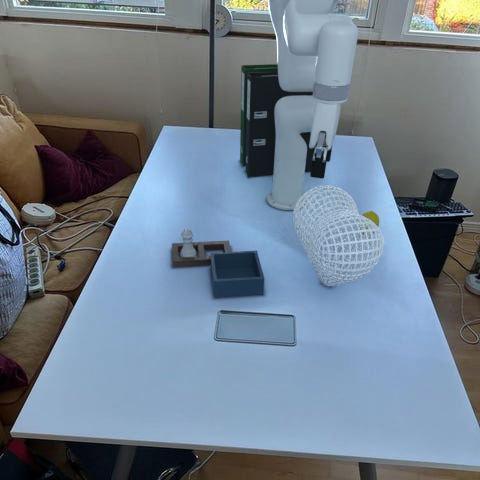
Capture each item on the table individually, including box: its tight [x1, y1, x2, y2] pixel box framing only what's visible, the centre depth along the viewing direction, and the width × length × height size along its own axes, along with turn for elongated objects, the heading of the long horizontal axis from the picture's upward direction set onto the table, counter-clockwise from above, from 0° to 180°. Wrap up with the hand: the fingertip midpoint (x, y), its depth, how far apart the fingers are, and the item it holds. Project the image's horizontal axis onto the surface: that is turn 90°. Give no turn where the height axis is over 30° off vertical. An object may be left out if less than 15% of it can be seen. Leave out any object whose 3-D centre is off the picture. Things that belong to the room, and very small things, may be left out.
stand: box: [171, 240, 232, 269], centre depth 125 cm, size 9×16×2 cm, turn 97°
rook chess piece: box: [179, 228, 198, 258], centre depth 123 cm, size 4×4×8 cm
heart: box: [292, 185, 385, 287], centre depth 111 cm, size 28×16×22 cm, turn 14°
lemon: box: [360, 210, 380, 237], centre depth 133 cm, size 6×6×8 cm
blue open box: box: [209, 250, 265, 299], centre depth 116 cm, size 12×12×5 cm
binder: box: [239, 63, 315, 178], centre depth 159 cm, size 27×15×32 cm, turn 102°
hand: (320, 168), depth 110 cm, fingers open, 9 cm apart
